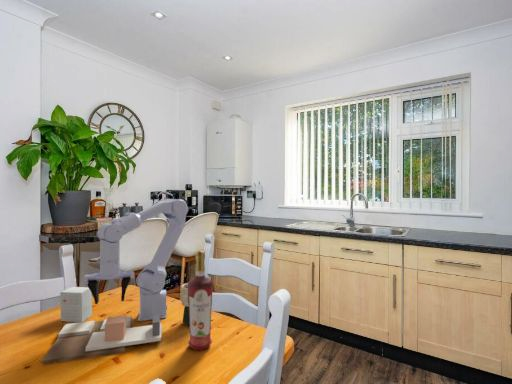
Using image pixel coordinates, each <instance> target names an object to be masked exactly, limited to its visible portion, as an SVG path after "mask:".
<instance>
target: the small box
mask: <svg viewBox="0 0 512 384" xmlns="http://www.w3.org/2000/svg"><path fill="white" fill-rule="evenodd" d="M59 299H60V322H62V321H66V322H65V323H67V322H69V323H79V322H86V320H88V319H89V318H90V317H92V315H93V303H92V299H93V295H92V293H91V291H90V289H89V288H88V286H87V287H85V286H84V287H83V286H71V287H68V288H66V289H64V290H62V291H60V298H59Z"/></svg>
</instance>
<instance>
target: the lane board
mask: <svg viewBox="0 0 512 384" xmlns="http://www.w3.org/2000/svg"><path fill="white" fill-rule="evenodd" d="M106 321H107V318H105V319H104V320H99V321H95V320H89V321H83V322H70V323H66V324H64V325H63V327H62V329H60V331H59V333H58V334H57V339H56V340H55V341H54V343H52V344H53V345H51V347H50V349H49V350H48V351H47V353H46V354H45V356H44V357H43V359H42V360H41V365H42V364H43V365H48V364H47V363H50V364H56V363H55V362H57V363H61V362H62V361H63V362H69V361H76V360H83V359H88V358H89V359H90V358H96V357H101V356H107V355H115V354H123V353H125V352H126V351H125V350H126V347H127V346H121V347H114V348H107V349H100V350H93V351H86V352H85V348H86V346H87V344H88V342H89V340H90V338H91V336H92V334H93V333H94V332H102V331H105V323H106ZM132 322H133V316H131V315H130V316H126V328H132V327H131V326H132Z"/></svg>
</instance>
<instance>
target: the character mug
mask: <svg viewBox="0 0 512 384" xmlns="http://www.w3.org/2000/svg"><path fill="white" fill-rule="evenodd" d="M180 287H181V288H180V289H181V293H180V294H181V295H180V296H181V297H180V298H181V305H182V306H184V309H183V315H182V323H184V324H186V325H189V306H188V282H187V283H186V282H185V283H183V284H182V285H181V286H180Z"/></svg>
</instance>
